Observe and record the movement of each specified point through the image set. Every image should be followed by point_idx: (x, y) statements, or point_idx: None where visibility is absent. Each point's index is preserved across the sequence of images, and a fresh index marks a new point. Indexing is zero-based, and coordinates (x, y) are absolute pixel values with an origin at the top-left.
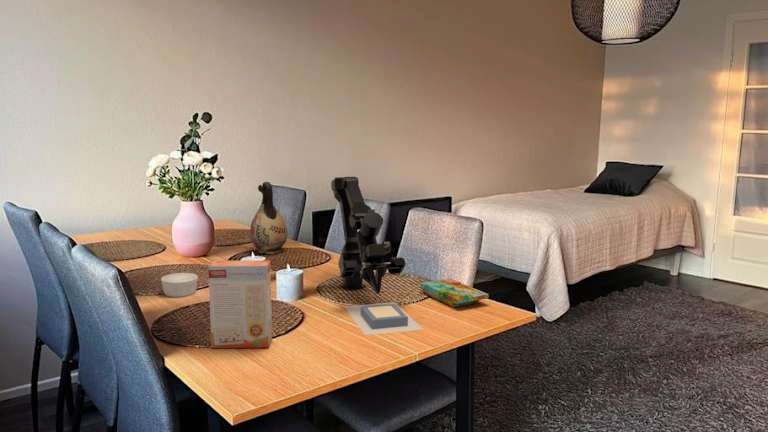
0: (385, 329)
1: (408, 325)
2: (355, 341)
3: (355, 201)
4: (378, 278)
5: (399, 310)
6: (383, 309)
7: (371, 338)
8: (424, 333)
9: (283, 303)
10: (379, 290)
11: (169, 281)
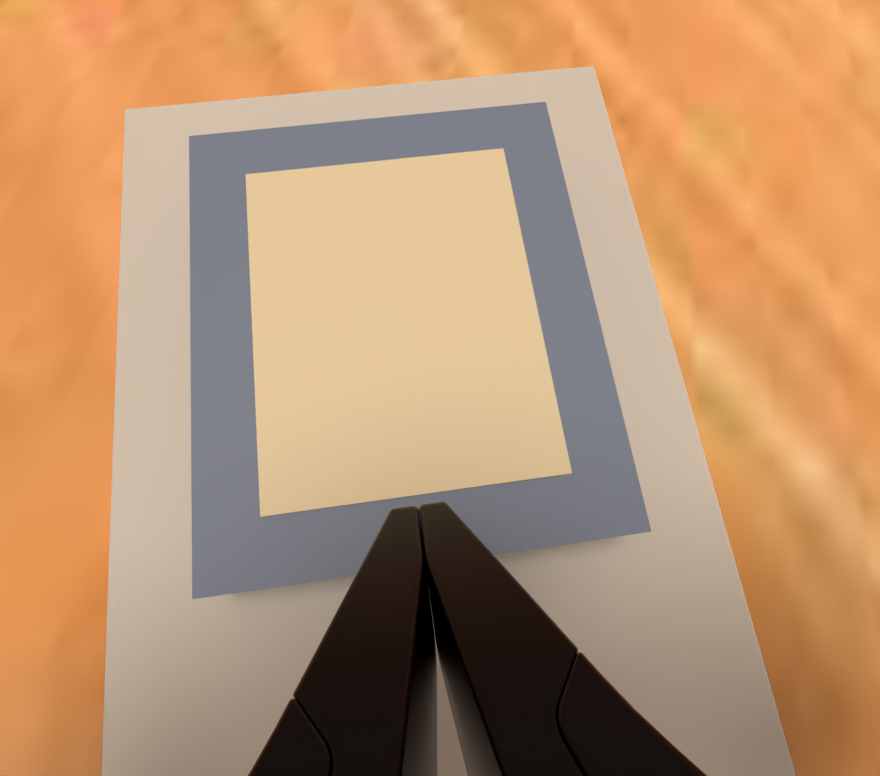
0: None
1: None
2: (659, 17)
3: None
4: (376, 758)
5: (207, 332)
6: (384, 377)
7: (547, 45)
8: (142, 76)
9: None
10: (399, 515)
11: None
